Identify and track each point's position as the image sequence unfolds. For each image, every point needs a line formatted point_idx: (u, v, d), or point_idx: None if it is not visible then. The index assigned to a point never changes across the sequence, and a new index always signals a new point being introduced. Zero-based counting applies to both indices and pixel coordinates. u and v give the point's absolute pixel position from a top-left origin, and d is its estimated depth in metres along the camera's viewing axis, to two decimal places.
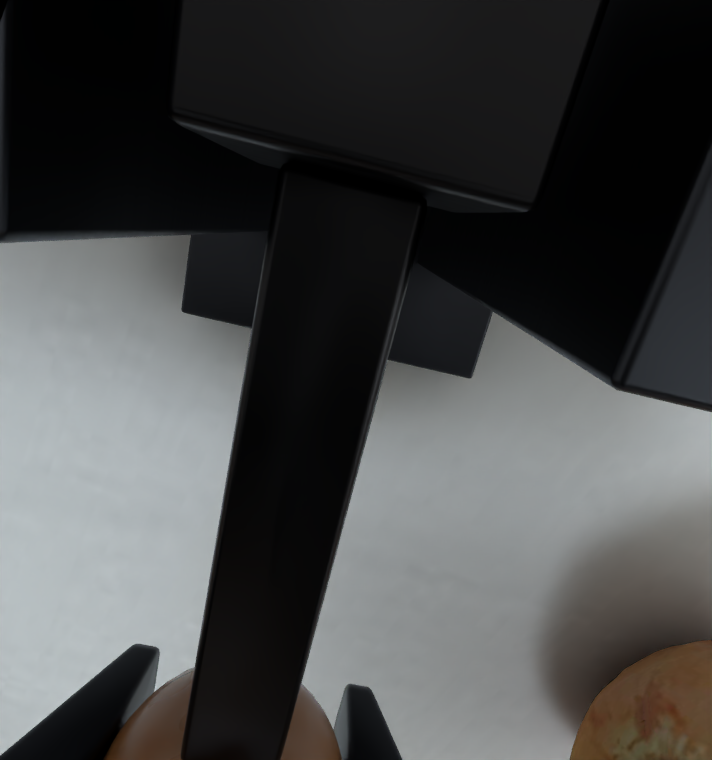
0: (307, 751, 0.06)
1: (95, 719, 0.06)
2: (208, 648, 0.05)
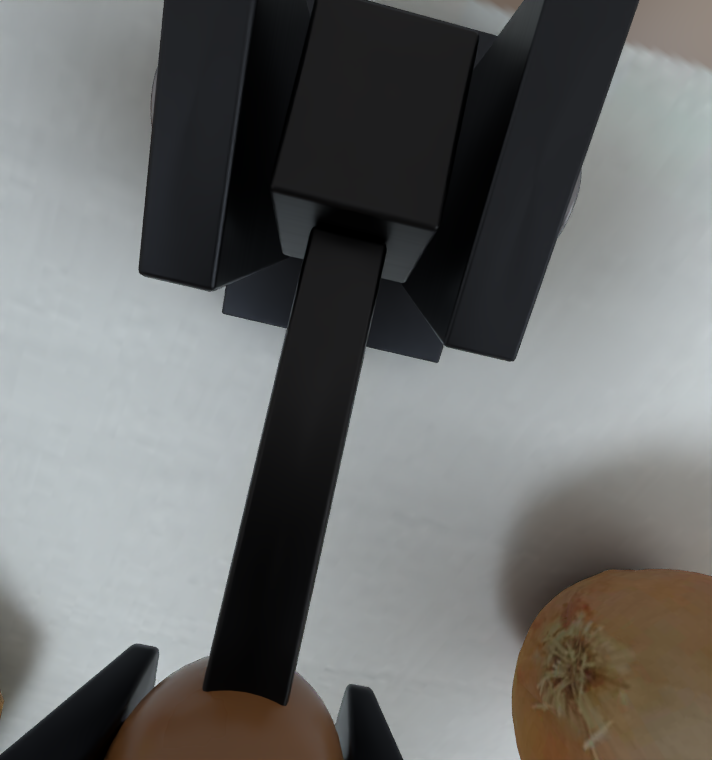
0: (311, 702, 0.06)
1: (94, 719, 0.06)
2: (241, 556, 0.06)
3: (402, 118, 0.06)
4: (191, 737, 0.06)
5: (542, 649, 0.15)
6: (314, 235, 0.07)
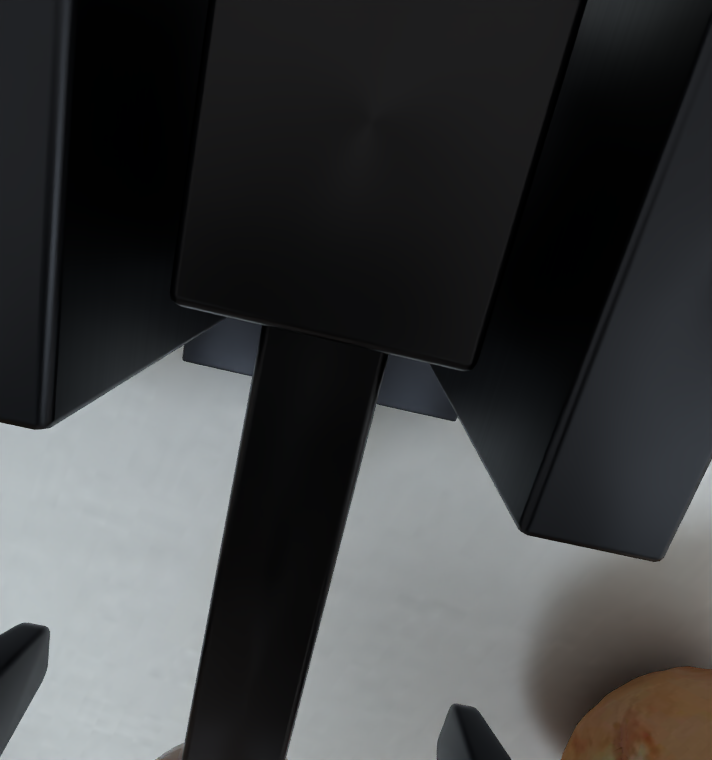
0: None
1: None
2: (196, 734, 0.05)
3: (418, 149, 0.03)
4: None
5: None
6: (268, 335, 0.04)
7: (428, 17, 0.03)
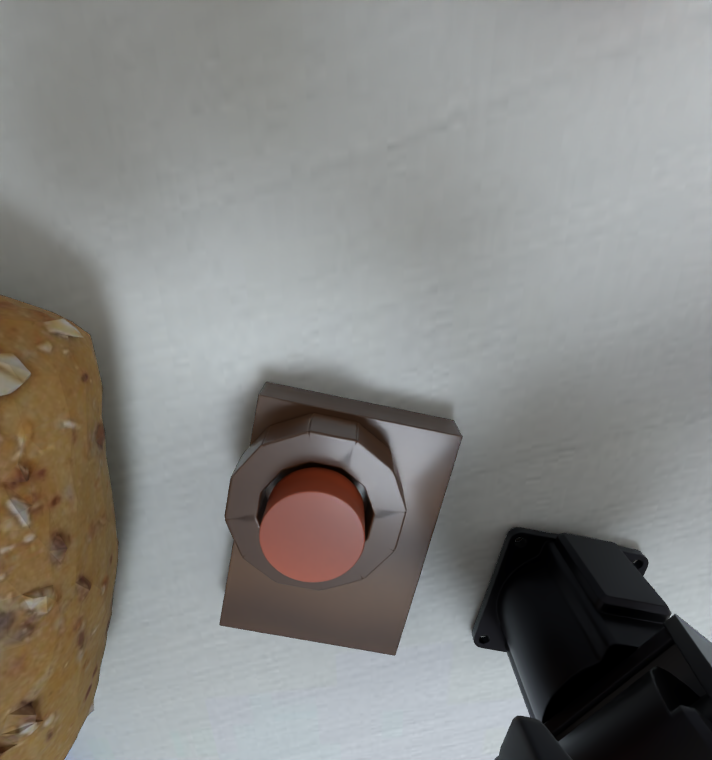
0: None
1: None
2: None
3: None
4: None
5: None
6: None
7: None
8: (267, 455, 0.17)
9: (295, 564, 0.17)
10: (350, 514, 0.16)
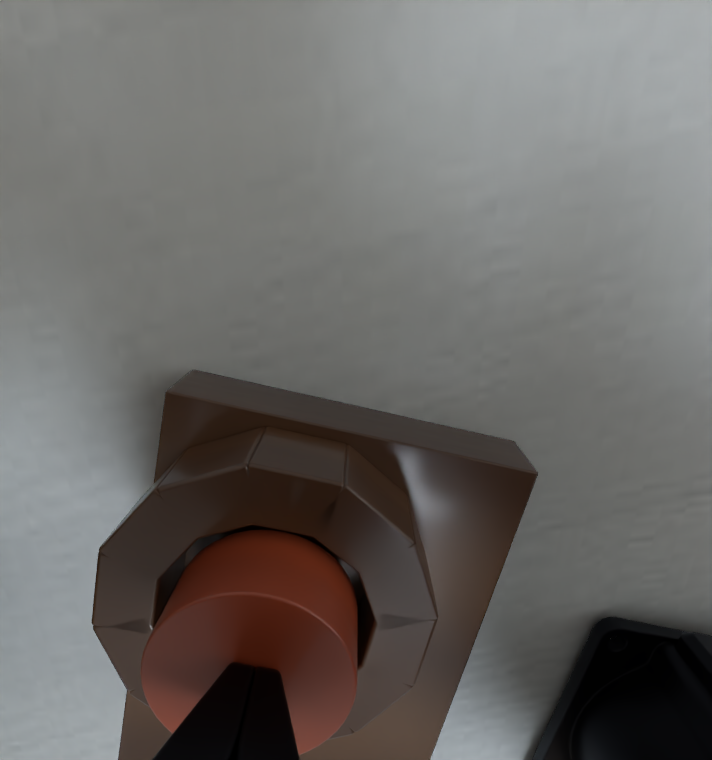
0: None
1: (215, 741, 0.06)
2: None
3: None
4: None
5: None
6: None
7: None
8: (167, 511, 0.09)
9: None
10: (327, 639, 0.08)
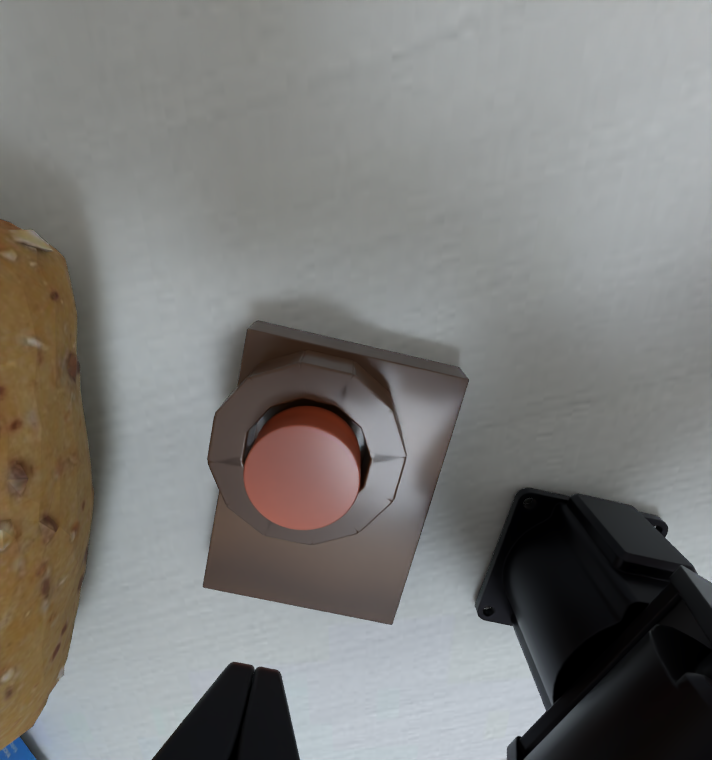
0: None
1: (215, 740, 0.06)
2: None
3: None
4: None
5: None
6: None
7: None
8: (254, 390, 0.16)
9: (283, 509, 0.15)
10: (344, 452, 0.15)
